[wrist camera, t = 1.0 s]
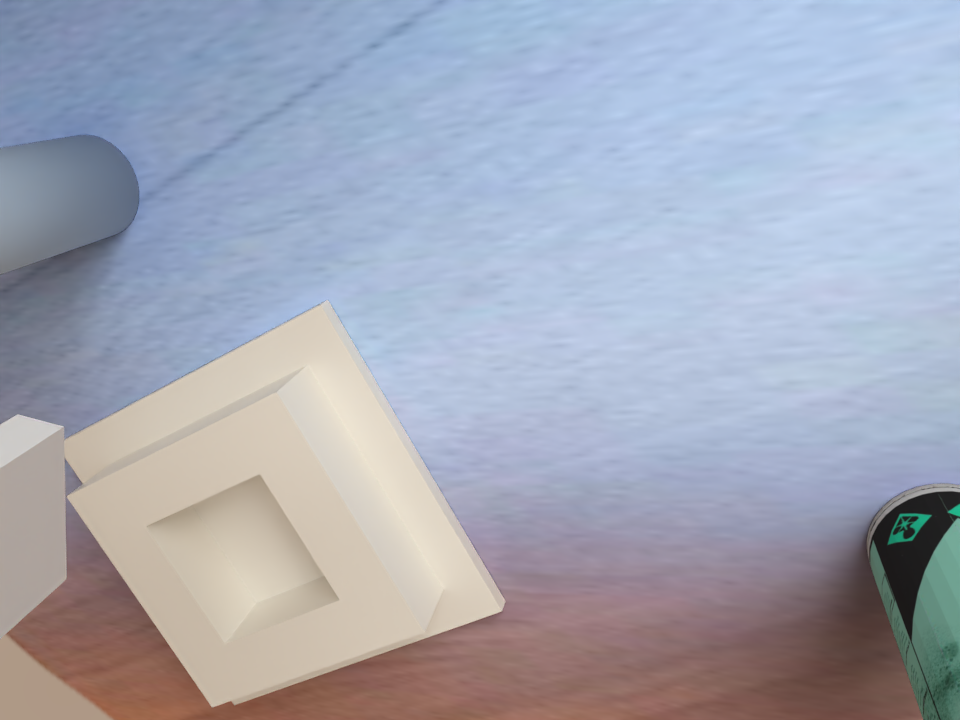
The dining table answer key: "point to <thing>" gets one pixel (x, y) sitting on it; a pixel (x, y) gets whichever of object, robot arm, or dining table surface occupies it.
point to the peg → (62, 197)
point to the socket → (277, 515)
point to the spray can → (923, 590)
